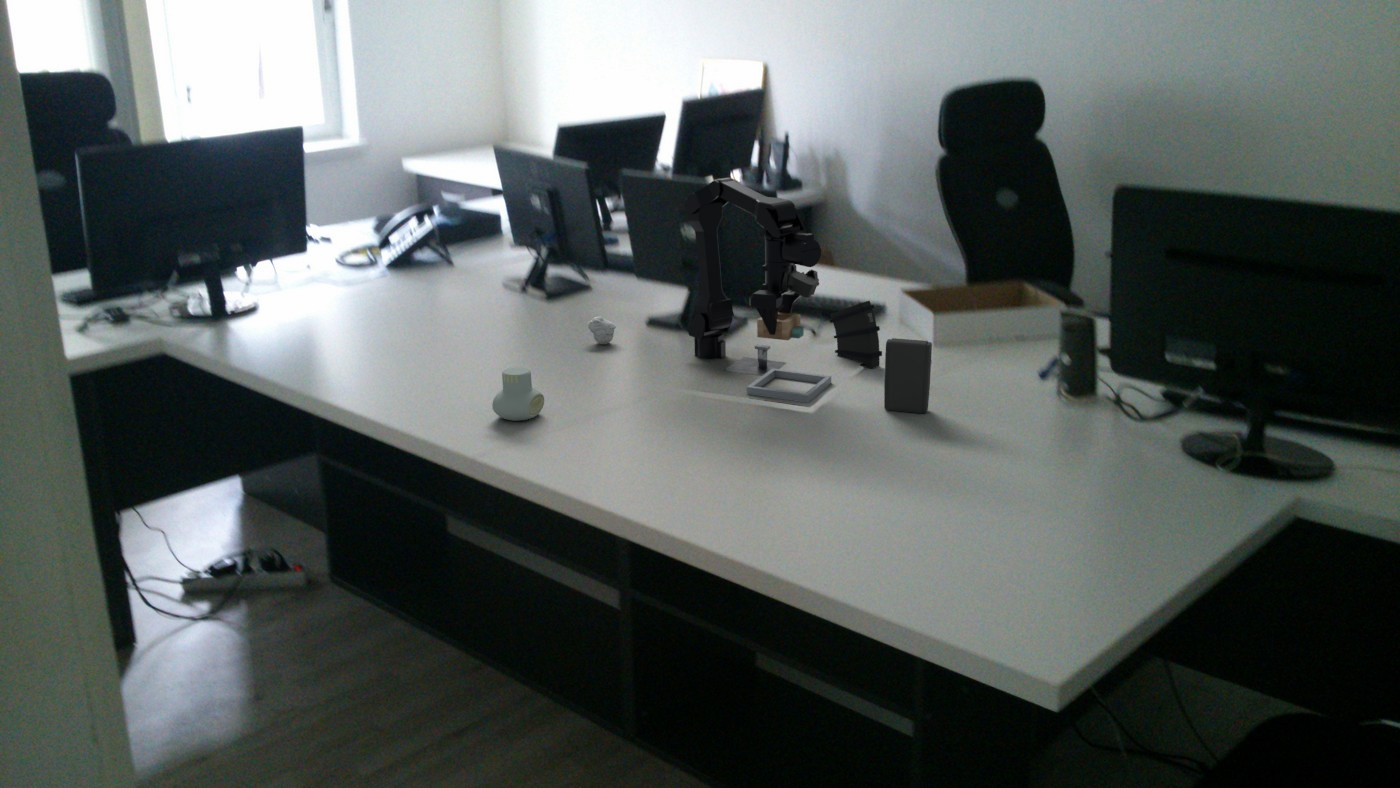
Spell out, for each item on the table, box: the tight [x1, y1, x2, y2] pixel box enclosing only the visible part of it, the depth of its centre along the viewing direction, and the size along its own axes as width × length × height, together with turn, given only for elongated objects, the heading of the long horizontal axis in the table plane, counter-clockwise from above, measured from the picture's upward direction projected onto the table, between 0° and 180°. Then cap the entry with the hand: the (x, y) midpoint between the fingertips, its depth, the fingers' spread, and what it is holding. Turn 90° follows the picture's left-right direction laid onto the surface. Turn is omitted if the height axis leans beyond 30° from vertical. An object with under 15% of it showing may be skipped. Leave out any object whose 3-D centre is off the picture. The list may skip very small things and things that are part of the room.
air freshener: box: [492, 366, 545, 422], centre depth 247 cm, size 11×8×10 cm
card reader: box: [883, 337, 933, 414], centre depth 246 cm, size 9×4×15 cm, turn 71°
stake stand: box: [723, 344, 787, 377], centre depth 274 cm, size 11×11×6 cm
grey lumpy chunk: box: [587, 316, 617, 345], centre depth 296 cm, size 6×7×7 cm
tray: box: [746, 368, 832, 407], centre depth 259 cm, size 14×14×2 cm
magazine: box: [829, 300, 883, 370], centre depth 278 cm, size 4×13×15 cm, turn 40°
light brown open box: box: [756, 311, 805, 341], centre depth 260 cm, size 7×9×4 cm
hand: (779, 330), depth 261 cm, fingers closed on light brown open box, 7 cm apart
